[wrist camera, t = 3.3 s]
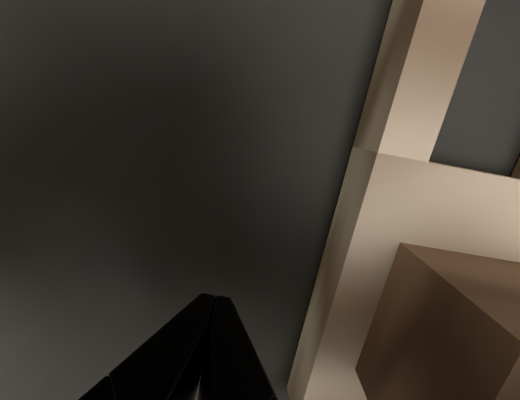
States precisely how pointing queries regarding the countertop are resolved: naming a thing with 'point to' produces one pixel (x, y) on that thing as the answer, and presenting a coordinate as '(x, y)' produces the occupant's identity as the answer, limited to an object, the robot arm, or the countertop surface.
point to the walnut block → (444, 329)
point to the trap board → (400, 193)
